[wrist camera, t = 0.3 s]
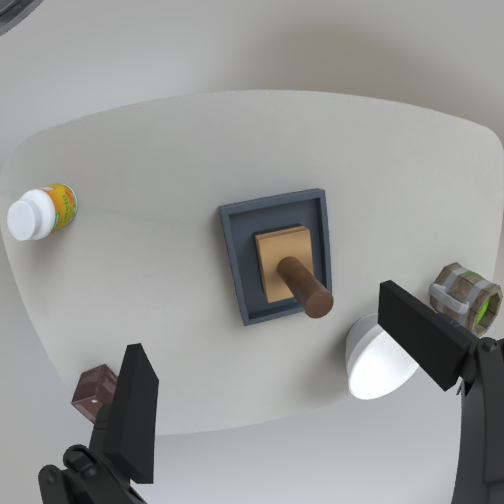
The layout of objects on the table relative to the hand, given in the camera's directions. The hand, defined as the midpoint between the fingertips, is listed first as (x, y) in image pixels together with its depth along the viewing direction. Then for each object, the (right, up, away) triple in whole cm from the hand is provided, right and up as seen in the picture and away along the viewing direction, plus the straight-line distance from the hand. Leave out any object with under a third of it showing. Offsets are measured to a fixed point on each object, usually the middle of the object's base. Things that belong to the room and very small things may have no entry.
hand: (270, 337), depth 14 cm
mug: (+36, -2, +31) cm, 47 cm away
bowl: (+19, -10, +30) cm, 37 cm away
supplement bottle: (-25, +10, +15) cm, 31 cm away
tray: (+3, +4, +22) cm, 23 cm away
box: (-25, -17, +24) cm, 38 cm away
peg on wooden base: (+3, +4, +22) cm, 22 cm away
